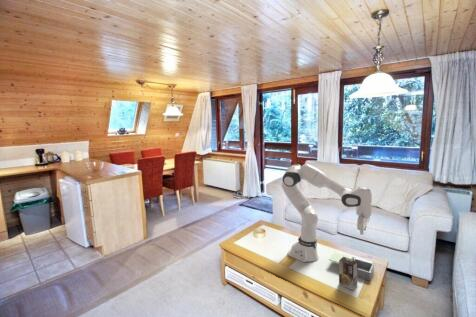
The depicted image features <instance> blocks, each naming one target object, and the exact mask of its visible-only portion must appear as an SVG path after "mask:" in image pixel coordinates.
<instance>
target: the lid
mask: <svg viewBox="0 0 476 317" xmlns="http://www.w3.org/2000/svg"><path fill="white" fill-rule="evenodd" d="M342 257H346V258H349V259H352V260H355V259H357V258H356V257H355V256H351V255H347V254H344V253H340V252H336V251H334V252H333V253H332V254H331V255H330V257H329V259H328V261H331V262H333V263H337V264H339V260H340V259H341V258H342Z"/></svg>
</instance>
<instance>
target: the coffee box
mask: <svg viewBox="0 0 476 317" xmlns="http://www.w3.org/2000/svg"><path fill="white" fill-rule="evenodd" d="M357 273H358V261H355V260H352V259H349V258H346V257H342V258H341V259H340V260H339V263H338V285H340V286H342V287H344V288H347V289H349V290H352V291H355V289H356V288H357V287H358V277H357Z"/></svg>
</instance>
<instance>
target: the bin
mask: <svg viewBox="0 0 476 317" xmlns="http://www.w3.org/2000/svg"><path fill="white" fill-rule="evenodd" d="M355 261H358V273H357V278H360V279H364V280H367V281H369V282H370V281H371V279H372V276H373V274H374V270H375V269H374V266H375V264H374V263H372V262H369V261H366V260H362V259H359V258H356V259H355Z"/></svg>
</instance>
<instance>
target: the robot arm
mask: <svg viewBox="0 0 476 317" xmlns="http://www.w3.org/2000/svg"><path fill="white" fill-rule="evenodd" d="M302 180H304V181H306V182H308V183H309V184H310V185H312V186H314V187H316V188H319V189H321V188H325V189H326V188H327V189H329V190H331V191H333V192H334V193H336V194H337V195H338V196H339V197H340V201H341V204H342V205H343V206H344V207H348V208H355V214H356V215H357V217H358V218H357V220H356V230H357V231H359V234H360V235H362V236H363V235H364V233H365V232H364V231H366V230H367V225H368V224H369V221H370V220H371V216H372V200H373V198H372V196H373V195H372V191H371V189H369V188H367V187H365V186H358V187H357V188H355V189H353V188H351V187H348V186H344V185H341V184H340V183H339V182H336V181H334V180H333V179H331V178H330V177H329V176H328V175H327V174H325V173H324V172H323V171H322V170H320V169H318V168H317V167H315V166H312V164H308V163H304V164H302V165H301V164H299V163H293V164H291V165H289V167H288V168H287V170H285V173H283V176H282V184H281V188H282V190H283V192H284V193H285V196H286V197H287V198H288V200H289V202H290V203H291V204H292V205H293V207H294V208H295V210H297V212H298V213H299V214H300V217H301V227H300V235H299V237H298V238H297V241H296V242H295V243H293V244H292V246H291V248H290V249H289V250H288V252H287V255H288V256H289V257H292V258H294V259H295V260H298V261H301V262H302V263H307V262H315V261H318V259H319V254H318V250H317V247H318V240H317V226H318V221H319V216H318V213H317V212H316V210H315V208H314V207H313V205H312V203H311V202H310V201H309V199H308V197H306V195H305V194H304V193H303V191H302V190H301V188H300V187H299V184H298V183H300V182H301V181H302Z"/></svg>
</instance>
